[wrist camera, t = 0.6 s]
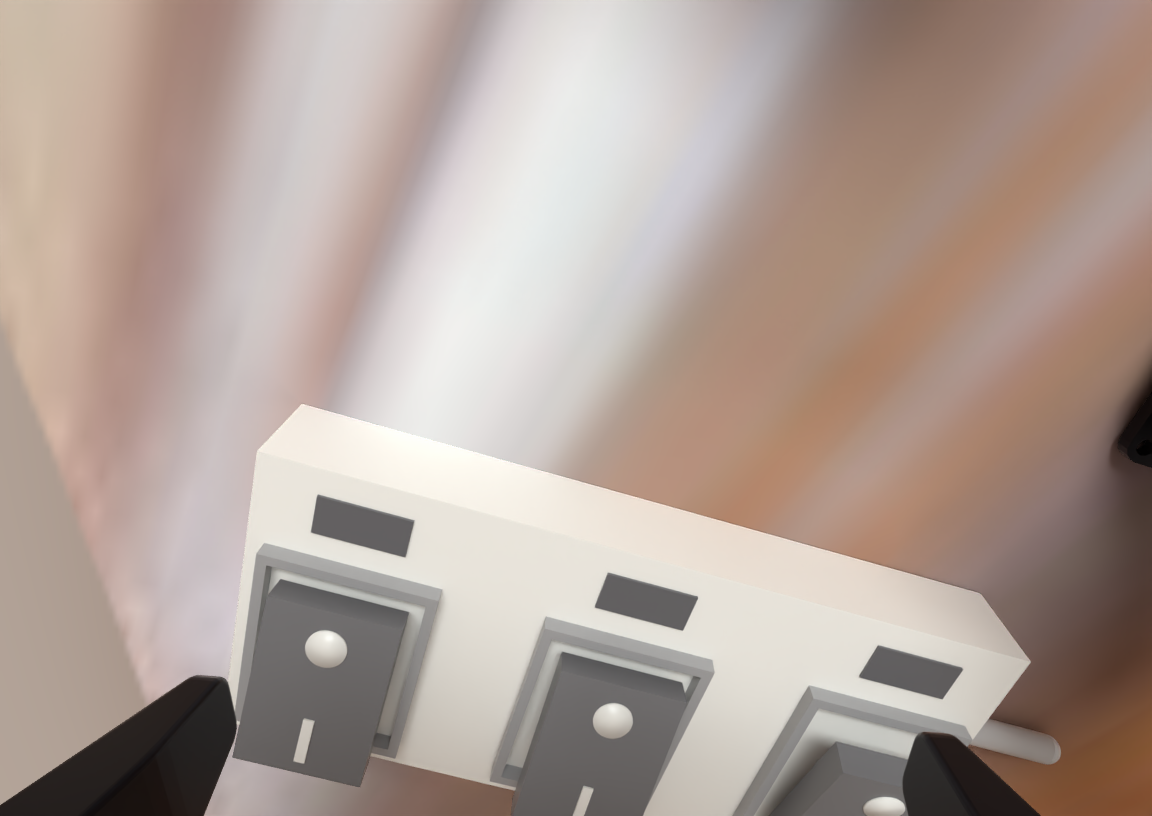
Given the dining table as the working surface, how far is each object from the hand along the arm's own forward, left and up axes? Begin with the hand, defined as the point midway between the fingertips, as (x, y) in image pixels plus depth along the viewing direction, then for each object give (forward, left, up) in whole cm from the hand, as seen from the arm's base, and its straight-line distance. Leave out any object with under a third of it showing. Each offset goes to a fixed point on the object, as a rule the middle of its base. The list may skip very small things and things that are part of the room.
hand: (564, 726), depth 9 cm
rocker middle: (-3, +9, -8) cm, 13 cm away
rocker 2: (-11, +9, -8) cm, 17 cm away
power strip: (-6, +8, -12) cm, 16 cm away
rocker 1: (+5, +9, -8) cm, 13 cm away
